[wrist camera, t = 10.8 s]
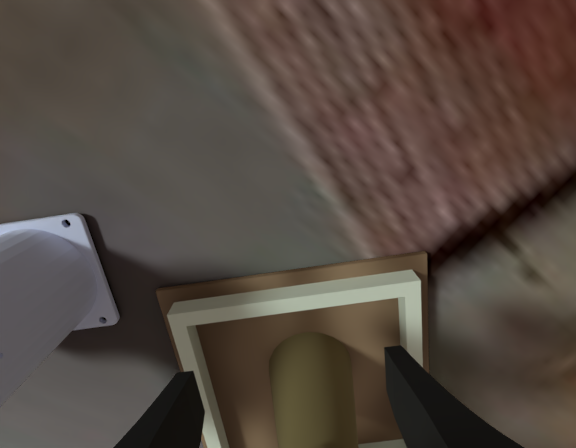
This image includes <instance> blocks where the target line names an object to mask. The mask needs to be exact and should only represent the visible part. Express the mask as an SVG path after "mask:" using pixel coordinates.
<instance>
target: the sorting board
mask: <svg viewBox="0 0 576 448" xmlns="http://www.w3.org/2000/svg"><path fill="white" fill-rule="evenodd" d="M405 270H413V271H414V273H415V274H416V275H417V276H418V278H419V279H420V280H421V312H422V354H423V368H424V369H425V370H426V371H427V372H428V373H429V339H428V280H427V253H426V252H425V251H422V252H414V253H407V254H400V255H393V256H386V257H379V258H372V259H364V260H357V261H350V262H343V263H336V264H329V265H322V266H314V267H307V268H300V269H293V270H286V271H279V272H272V273H264V274H257V275H250V276H243V277H236V278H229V279H222V280H214V281H207V282H200V283H193V284H186V285H179V286H172V287H164V288H157V290H156V291H155V292H156V295H157V298H158V301H159V305H160V308H161V311H162V314H163V317H164V321H165V324H166V327H167V330H168V333H169V337H170V340H171V343H172V346H173V350H174V353H175V356H176V359H177V362H178V366H179V369H180V372H184V370H183V366H182V363H181V360H180V357H179V353H178V350H177V347H176V344H175V340H174V337H173V334H172V330H171V327H170V324H169V321H168V317H167V314H168V312H169V310H170V309H171V307H172V305H173V303H174V302H181V301H188V300H195V299H202V298H209V297H217V296H224V295H231V294H238V293H246V292H253V291H260V290H267V289H274V288H282V287H289V286H296V285H303V284H311V283H318V282H325V281H332V280H340V279H347V278H354V277H361V276H368V275H376V274H383V273H390V272H397V271H405ZM195 326H196V329H197V333H198V336H199V340H200V344H201V347H202V351H203V354H204V358H205V361H206V365H207V369H208V372H209V376H210V379H211V383H212V387H213V390H214V394H215V397H216V401H217V405H218V408H219V412H220V415H221V419H222V423H223V426H224V430H225V433H226V437H227V441H228V444H229V448H278V441H277V433H276V425H275V417H274V409H273V401H272V393H271V385H270V377H269V360H270V357H271V355H272V353H273V351H274V349H275V348H276V347H277V346H278V345H279V344H280V343H281V342H282V341H284V340H286V339H287V338H289V337H291V336H293V335H296V334H301V333H305V332H315V333H323V334H326V335H329V336H332V337H334V338H335V339H336V340H338V341H339V342H341V343H342V344H343V345H344V347H345V348H346V350H347V351H348V352H349V355H350V359H351V364H352V376H353V388H354V399H355V411H356V423H357V435H358V444H365V443H373V442H382V441H390V440H398V439H403V437H402V435H401V432H400V430H399V427H398V425H397V423H396V420H395V417H394V414H393V411H392V408H391V404H390V401H389V398H388V394H387V391H386V373H385V355H384V347H390V346H399V345H400V326H399V306H398V298H392V299H384V300H377V301H370V302H362V303H355V304H348V305H340V306H333V307H326V308H318V309H311V310H303V311H296V312H289V313H281V314H274V315H267V316H259V317H252V318H244V319H237V320H230V321H222V322H215V323H208V324H200V325H195ZM201 440H202V443H203V446H204V448H207V445H206V441H205V438H204V435H203V432H202V436H201Z"/></svg>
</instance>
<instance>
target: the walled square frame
mask: <svg viewBox="0 0 576 448" xmlns="http://www.w3.org/2000/svg"><path fill="white" fill-rule="evenodd" d="M392 298H398V306H399V326H400V345H401V346H402V347H403V348H404V349H405V350H406V351H407V352H408V353H409V354H410V355H411V356H412V357H413V358H414V359H415V360H416V361H417V362H418V363H419V364H420V365H421V366H422V367H423V354H422V312H421V280H420V279H419V278H418V276H417V275H416V274H415V273H414V271H413V270H405V271H397V272H390V273H383V274H376V275H368V276H361V277H354V278H347V279H340V280H332V281H325V282H318V283H311V284H303V285H296V286H289V287H282V288H274V289H267V290H260V291H253V292H246V293H238V294H231V295H224V296H217V297H209V298H202V299H195V300H188V301H181V302H174V303H173V305H172V307H171V309H170V310H169V312H168V314H167V317H168V321H169V324H170V327H171V330H172V334H173V337H174V340H175V344H176V347H177V350H178V353H179V357H180V360H181V363H182V366H183V370H184V372H186V371H194V374H195V378H196V382H197V385H198V389H199V392H200V396H201V399H202V403H203V406H204V410H205V416H204V423H203V430H202V432H203V435H204V438H205V441H206V445H207V448H229V444H228V441H227V437H226V433H225V430H224V426H223V423H222V419H221V415H220V412H219V408H218V405H217V401H216V397H215V394H214V390H213V387H212V383H211V379H210V376H209V372H208V369H207V365H206V361H205V358H204V354H203V351H202V347H201V344H200V340H199V336H198V333H197V329H196V326H195V325H200V324H208V323H215V322H222V321H230V320H237V319H244V318H252V317H259V316H267V315H274V314H281V313H289V312H296V311H303V310H311V309H318V308H326V307H333V306H340V305H348V304H355V303H362V302H370V301H377V300H384V299H392ZM358 447H359V448H407V447H406V444H405V442H404V440H403V439H398V440H390V441H382V442H373V443H365V444H358Z"/></svg>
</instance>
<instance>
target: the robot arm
mask: <svg viewBox="0 0 576 448" xmlns="http://www.w3.org/2000/svg"><path fill="white" fill-rule="evenodd" d="M66 220H68V221H69V222H70V225H68V224H67V223H66ZM102 317H104V318H106V320H104V319H103V318H102ZM119 319H120V316H119V313H118V310H117V307H116V304H115V302H114V299H113V296H112V293H111V291H110V288H109V285H108V282H107V279H106V277H105V274H104V271H103V268H102V265H101V263H100V260H99V257H98V254H97V252H96V249H95V246H94V243H93V240H92V238H91V235H90V232H89V229H88V226H87V224H86V221H85V219H84V217H83V216H82V215H81V214H78V213H71V214H65V215H58V216H51V217H44V218H38V219H31V220H24V221H18V222H11V223H4V224H0V407H1V406H2V405H3V404H4V403H5V402H6V400H7V399H8V398H9V397H10V396H11V395H12V394H13V393H14V392H15V391H16V390H17V389H18V388H19V387H20V386H21V384H22V383H23V382H24V381H25V380H26V379H27V378H28V377H29V376H30V375H31V374H32V373H33V372H34V371H35V370H36V369H37V367H38V366H39V365H40V364H41V363H42V362H43V361H44V360H45V359H46V358H47V357H48V356H49V355H50V354H51V353H52V352H53V350H54V349H55V348H56V347H57V346H58V345H59V344H60V343H61V342H62V341H63V340H64V339H65V338H66V337H67V336H68V335H69V333H70V332H71V331H73V330H81V329H88V328H95V327H103V326H110V325H114V324H116V323H117V322H118V321H119ZM384 355H385V373H386V391H387V394H388V398H389V401H390V404H391V408H392V411H393V414H394V417H395V420H396V423H397V425H398V427H399V430H400V432H401V435H402V437H403V440H404V442H405V444H406V447H407V448H524V447H522V446H521V445H519V444H517V443H516V442H514V441H513V440H511V439H510V438H508V437H506V436H505V435H503V434H502V433H500V432H499V431H498V430H496V429H495V428H493V427H492V426H490V425H489V424H488V423H486V422H485V421H484V420H482V419H481V418H480V417H478V416H477V415H476V414H474V413H473V412H472V411H471V410H469V409H468V408H467V407H466V406H464V405H463V404H462V403H461V402H460V401H458V400H457V399H456V398H455V397H454V396H453V395H451V394H450V393H449V392H448V391H447V390H446V389H445V388H444V387H442V386H441V385H440V384H439V383H438V382H437V381H436V380H435V379H434V378H433V377H432V376H431V375H430V374H429V373H428V372H427V371H426V370H425V369H424V368H423V367H422V366H421V365H420V364H419V363H418V362H417V361H416V360H415V359H414V358H413V357H412V356H411V355H410V354H409V353H408V352H407V351H406V350H405V349H404V348H403V347H402V346H401V345H399V346H390V347H384ZM204 416H205V410H204V406H203V403H202V399H201V396H200V392H199V389H198V385H197V382H196V378H195V374H194V371H186V372H178V373H177V374H176V375H175V376H174V377H173V379H172V380H171V381H170V382H169V384H168V385H167V386H166V387H165V389H164V390H163V391H162V392H161V393H160V395H159V396H158V397H157V398H156V400H155V401H154V402H153V403H152V405H151V406H150V407H149V408H148V409H147V411H146V412H145V413H144V414H143V415H142V417H141V418H140V419H139V420H138V421H137V422H136V424H135V425H134V426H133V427H132V428H131V429H130V430H129V431H128V432H127V434H126V435H125V436H124V437H123V438H122V439H121V440H120V441H119V442H118V443H117V445H116V446H115V447H114V448H199V446H200V442H201V436H202V430H203V423H204Z"/></svg>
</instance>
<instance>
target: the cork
mask: <svg viewBox="0 0 576 448" xmlns="http://www.w3.org/2000/svg"><path fill="white" fill-rule="evenodd" d="M269 377H270V385H271V393H272V401H273V409H274V417H275V425H276V433H277V441H278V448H359V447H358V435H357V423H356V411H355V399H354V388H353V376H352V364H351V359H350V355H349V352H348V351H347V350H346V348H345V347H344V345H343V344H342V343H341V342H339V341H338V340H336V339H335V338H334V337H332V336H329V335H326V334H323V333H315V332H305V333H301V334H296V335H293V336H291V337H289V338H287V339H286V340H284V341H282V342H281V343H280V344H279V345H278V346H277V347H276V348H275V349H274V351H273V353H272V355H271V357H270V360H269Z"/></svg>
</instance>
